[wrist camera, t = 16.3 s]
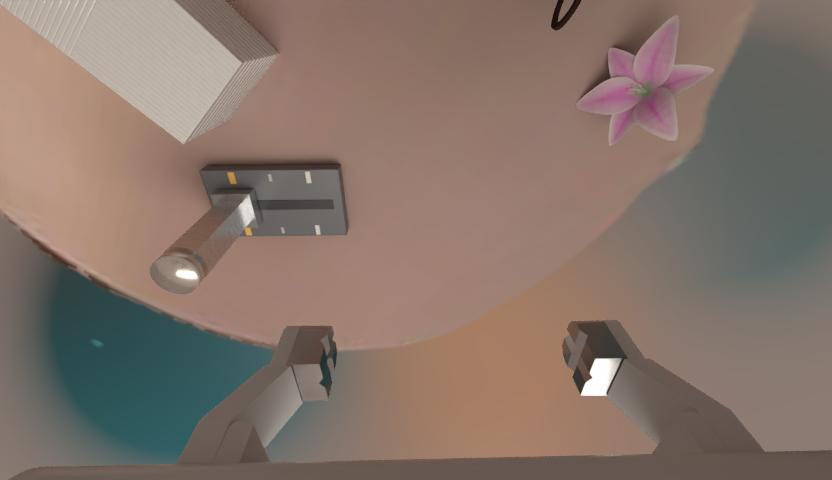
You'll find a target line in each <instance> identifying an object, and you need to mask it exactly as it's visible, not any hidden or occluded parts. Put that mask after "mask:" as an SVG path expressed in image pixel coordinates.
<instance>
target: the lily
mask: <svg viewBox="0 0 832 480" xmlns="http://www.w3.org/2000/svg"><path fill="white" fill-rule="evenodd" d="M679 25H680V24H679V17H678V15H675V16H673V17H671V18H670V19H669V20H667V21H666V22H665V23H664V24H663V25H662V26H661V27H660V28H659V29H658V30H657V31H656V32H655V33H654V34H653V35H652V36H651V37H650V38H649V39H648V40H647V41H646V42H645V44H644V45H643V46H642V47H641V48H640V50H639V51H638V53H637V55H636V56H635V55H633V54H631V53H629V52H626V51H624V50H621V49H617V48H610V49H609V51H608V65H609V72H610V76H611V78H610V79H608V80H606V81H604V82H602V83H601V84H599V85H598V86H596V87H595V88H593V89H592V90H591V91H589V92H588V93H587V94H586V95H584V96H583V97H582V98H581V99H580V100H579V101H578V102H577V105H576V107H577V108H578V109H580V110H583V111H587V112H592V113H597V114H603V115H612V116H611V121H610V127H609V144H610V146H612V145H614V144H615V143H617V142H618V141H619V140H620V139H621V138H623V137H624V136H625V135H626V134H627V133H628V132H629V131H630V130H631V129H632V128H633V127H634V126H635V125H636V124H637V125H638V126H639V127H641V128H643V129H644V130H646V131H648V132H650V133H652V134H654V135H656V136H658V137H661V138H663V139H666V140H669V141H674V140H676V139H677V137H678V122H677V114H676V106H675V100H674V96H675V95H677V94H679V93H681V92H683V91H685V90H687V89H688V88H690V87H692V86H694V85H695V84H697V83H699V82H700V81H702V80H703V79H705V78H706V77H708V76H709V75H711V74H712V73H713V72H714V69H713V68H711V67H706V66H699V65H686V64H684V65H674V61H675V56H676V48H677V41H678V34H679Z"/></svg>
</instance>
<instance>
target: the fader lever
mask: <svg viewBox="0 0 832 480" xmlns="http://www.w3.org/2000/svg"><path fill="white" fill-rule="evenodd" d="M210 196H211V199H212V202H213V204H214V206H213V207H212V208H211V209H210V210H209V211H208V212H207V213H206V214H204V215H203V216H202V217H201V218H200V219H199V220H198V221H197V222H196V223H195V224H194V225H193V226H192V227H191V228H189V229H188V230H187V231H186V232H185V233H184V234H183V235H182V236H181V237H180V238H179V239H178V240H177V241H175V242H174V243H173V244H172V245H171V246H170V247H169V248H168V249H167V250H166V251H165V252H164V253H163V254H162V255H161V256H160V257H159V258H158V259H157V260H156V261H155V262H154V263H153V264H152V265H151V267H150V274H151V277H152V279H153V280H154V281H155V282H156V284H158V285H159V286H160V287H161V288H163V289H165V290H167V291H169V292H172V293H177V294H186V293H190V292H192V291H194V290H195V289H196V287H197V286H198V285H199V284H200V282H201V281H202V280H203V279H204V277H206V276H207V275H208V274H209V272H210V271H211V270H212V269H213V267H214V266H215V265H216V264H217V262H218V261H219V260H220V259H221V257H222V256H223V255H224V254H225V252H226V251H227V250H228V249H229V248H230V246H231V245H232V244H233V243H234V241H235V240H236V239H237V238H238V236H239V235H240V234H241V233H242V231H243V230H244V229H245V228H259V226H260V225H261V224H262V222H263V221H262V218H261V214H260V211H259V207H258V203H257V200H256V196H255V192H254V189H220V190H215V191H214V192H213V193H211V194H210Z"/></svg>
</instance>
